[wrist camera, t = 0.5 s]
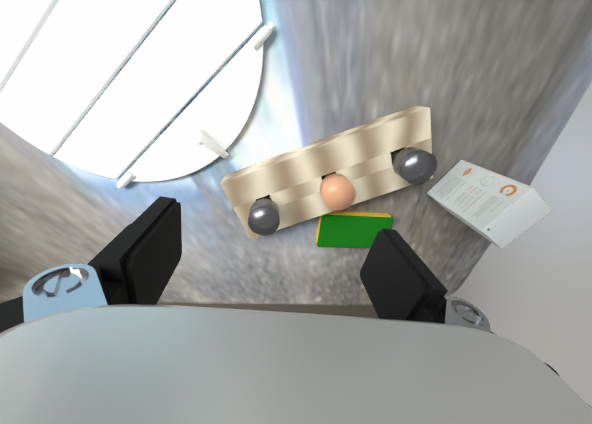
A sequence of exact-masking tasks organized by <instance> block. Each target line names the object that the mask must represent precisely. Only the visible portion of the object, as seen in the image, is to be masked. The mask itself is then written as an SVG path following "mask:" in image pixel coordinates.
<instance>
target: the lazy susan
mask: <svg viewBox="0 0 592 424" xmlns="http://www.w3.org/2000/svg"><path fill="white" fill-rule="evenodd" d="M174 1H175V0H0V122H2V123H3V124H4V125H5V126H7V127H8V128H9V129H11V130H12V131H13V132H15V133H16V134H17V135H19V136H20V137H22V138H23V139H25V140H26V141H28V142H29V143H31V144H32V145H34V146H35V147H37V148H39V149H40V150H42V151H44V152H46V153H47V154H49V155H51V154H54V153H55V152H56V151H57V150H58V148H59V147H60V146H61V144H62V143H63V142H64V141H65V139H66V138H67V137H68V136H69V134H70V133H71V132H72V130H73V129H74V128H75V127H76V125H77V124H78V123H79V122H80V120H81V119H82V118H83V116H84V115H85V114H86V113H87V111H88V110H89V109H90V108H91V106H92V105H93V104H94V103H95V101H96V100H97V99H98V97H99V96H100V95H101V94H102V92H103V91H104V90H105V89H106V87H107V86H108V85H109V83H110V82H111V81H112V80H113V78H114V77H115V76H116V75H117V73H118V72H119V71H120V69H121V68H122V67H123V66H124V64H125V63H126V62H127V61H128V59H129V58H130V57H131V55H132V54H133V53H134V52H135V50H136V49H137V48H138V47H139V45H140V44H141V43H142V41H143V40H144V39H145V38H146V36H147V35H148V34H149V33H150V31H151V30H152V29H153V27H154V26H155V25H156V24H157V22H158V21H159V20H160V19H161V17H162V16H163V15H164V14H165V12H166V11H167V10H168V8H169V7H170V6H171V5H172V3H173V2H174ZM261 24H262V15H261V8H260V1H259V0H176V2H175V3H174V4H173V6H172V7H171V8H170V9H169V11H168V12H167V13H166V14H165V16H164V17H163V18H162V19H161V21H160V22H159V23H158V25H157V26H156V27H155V28H154V30H153V31H152V32H151V33H150V35H149V36H148V37H147V39H146V40H145V41H144V42H143V44H142V45H141V46H140V47H139V49H138V50H137V51H136V52H135V54H134V55H133V56H132V58H131V59H130V60H129V61H128V63H127V64H126V65H125V66H124V68H123V69H122V70H121V71H120V73H119V74H118V75H117V77H116V78H115V79H114V80H113V82H112V83H111V84H110V85H109V87H108V88H107V89H106V91H105V92H104V93H103V94H102V96H101V97H100V98H99V99H98V101H97V102H96V103H95V104H94V106H93V107H92V108H91V110H90V111H89V112H88V113H87V115H86V116H85V117H84V118H83V120H82V121H81V122H80V123H79V125H78V126H77V127H76V129H75V130H74V131H73V132H72V134H71V135H70V136H69V137H68V139H67V140H66V141H65V143H64V144H63V145H62V146H61V148H60V149H59V150H58V151H57V153H56V154H55V155H54V156H53V157H55V158H57V159H59V160H61V161H63V162H65V163H67V164H69V165H72V166H74V167H77V168H79V169H82V170H84V171H87V172H90V173H93V174H97V175H100V176H104V177H108V178H113V179H116V178H118V177H119V176H120V175H121V174H122V173H123V172H124V171H125V170H126V169H127V168H128V167H129V166H130V164H131V163H132V162H133V161H134V160H135V159H136V158H137V157H138V156H139V155H140V154H141V153H142V152H143V150H144V149H145V148H146V147H147V146H148V145H149V144H150V143H151V142H152V141H153V140H154V139H155V138H156V136H157V135H158V134H159V133H160V132H161V131H162V130H163V129H164V128H165V127H166V126H167V125H168V124H169V122H170V121H171V120H172V119H173V118H174V117H175V116H176V115H177V114H178V113H179V112H180V111H181V110H182V109H183V107H184V106H185V105H186V104H187V103H188V102H189V101H190V100H191V99H192V98H193V97H194V96H195V95H196V93H197V92H198V91H199V90H200V89H201V88H202V87H203V86H204V85H205V84H206V83H207V82H208V81H209V79H210V78H211V77H212V76H213V75H214V74H215V73H216V72H217V71H218V70H219V69H220V68H221V67H222V65H223V64H224V63H225V62H226V61H227V60H228V59H229V58H230V57H231V56H232V55H233V54H234V53H235V52H236V50H237V49H238V48H239V47H240V46H241V45H242V44H243V43H244V42H245V41H246V40H247V39H248V38H249V36H250V35H251V34H252V33H253V32H254V31H255V30H256V29H257V28H258V27H259V26H260V25H261ZM274 29H275V26H274V24H273V23H272V22H270V23H269V24H268V25H265V26H264V27H262V28H261V29H260V30H259V31H258V32H257V33H256V34H255V35H254V36H253V37H252V38H251V39H250V40H249V41H248V43H247V44H246V45H245V46H244V47H243V48H242V49H241V50H240V51H239V52H238V53H237V54H236V55H235V56H234V58H233V59H232V60H231V61H230V62H229V63H228V64H227V65H226V66H225V67H224V68H223V69H222V70H221V71H220V73H219V74H218V75H217V76H216V77H215V78H214V79H213V80H212V81H211V82H210V83H209V84H208V85H207V86H206V87H205V89H204V90H203V91H202V92H201V93H200V94H199V95H198V96H197V97H196V98H195V99H194V100H193V101H192V102H191V104H190V105H189V106H188V107H187V108H186V109H185V110H184V111H183V112H182V113H181V114H180V115H179V116H178V117H177V119H176V120H175V121H174V122H173V123H172V124H171V125H170V126H169V127H168V128H167V129H166V130H165V131H164V132H163V133H162V135H161V136H160V137H159V138H158V139H157V140H156V141H155V142H154V143H153V144H152V145H151V146H150V147H149V148H148V150H147V151H146V152H145V153H144V154H143V155H142V156H141V157H140V158H139V159H138V160H137V161H136V162H135V163H134V165H133V166H132V167H131V168H130V169H129V170H128V171H127V172H126V173H125V174H124V175H123V176H122V177H121V178H120V179H119V182H118V185H117V188H119V189H122V188H123V187H125V186H126V185H127V184H128V183H129V182H130V181H136V182H154V181H164V180H170V179H174V178H178V177H182V176H185V175H188V174H190V173H193V172H195V171H197V170H199V169H201V168H203V167H205V166H206V165H208V164H210V163H211V162H212V161H214V160H215V159H216V158H218V157H219V156H221V157H223V158H227V157H228V156H229V154H228V153H227V152H226V151H225V150H226V149H227V148H228V147H229V146H230V145H231V144H232V143H233V142H234V140H235V139H236V138H237V136H238V135H239V133H240V132H241V130H242V129H243V127H244V125H245V124H246V122H247V120H248V118H249V116H250V113H251V111H252V109H253V106H254V103H255V100H256V97H257V93H258V90H259V85H260V80H261V74H262V66H263V49H264V43H263V42H264V41H265V40H266V39H267V38H268V37H269V36H270V35H271V32H272V31H273V30H274Z"/></svg>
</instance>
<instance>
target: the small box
mask: <svg viewBox="0 0 592 424" xmlns="http://www.w3.org/2000/svg"><path fill="white" fill-rule="evenodd" d="M427 194H428V195H429V196H430V197H431V198H433V199H434V200H435V201H436V202H437V203H438V204H440V205H441V206H442V207H443V208H444V209H445V210H447V211H448V212H449V213H451V214H452V215H454V216H455V217H456V218H458V219H459V220H461V221H462V222H463V223H465V224H466V225H468V226H469V227H471V228H472V229H473V230H475V231H476V232H478V233H479V234H481V235H482V236H483V237H485V238H486V239H488V240H489V241H490V242H492V243H493V244H495V245H497V246H498V247H499V248H501V249H503V248H504V247H505V246H506V245H508V244H509V243H510V242H512V241H513V240H514V239H516V238H517V237H518V236H520V235H521V234H522V233H524V232H525V231H526V230H528V229H529V228H530V227H532V226H533V225H534V224H535V223H537V222H538V221H539V220H541V219H542V218H544V217H545V216H546V215H547V214H549V213H550V212H552V210H551V208H550V207H549V206H548V205H547V203H546V202H545V201H544V199H543V198H542V197H541V196H540V194H539V193H538V192H537V190H536V189H535V188H534V187H532V186H529V185H526V184H524V183H521V182H518V181H516V180H513V179H510V178H508V177H505V176H503V175H500V174H498V173H495V172H492V171H490V170H487V169H485V168H482V167H480V166H477V165H474V164H472V163H469V162H467V161H464V160H460V161H459V162H458V163H457V164H456V165H455V166H454V167H453V168H452V169H451V170H450V171H449V172H448V173H447V174H446V175H445V176H444V177H443V178H442V179H441V180H440V181H439V182H438V183H437V184H436V185H435V186H434V187H433V188H432V189H430V190H429V191H428V192H427Z"/></svg>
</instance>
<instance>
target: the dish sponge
mask: <svg viewBox="0 0 592 424" xmlns="http://www.w3.org/2000/svg"><path fill="white" fill-rule="evenodd" d="M392 223H393V218H392V217H391V216H390V215H389V214H388V213H368V212H346V211H333V212H330V213H327V214H324V215H321V216H320V217H319V222H318V228H317V234H316V243H317V246H318V247H345V248H371V246H372V244H373V241H374V239H375V237H376V235H377V233H378V231H381V230H382V229H383V228H385V229H391V226H392Z"/></svg>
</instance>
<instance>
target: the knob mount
mask: <svg viewBox="0 0 592 424" xmlns="http://www.w3.org/2000/svg"><path fill="white" fill-rule="evenodd" d="M407 147H417V148H420V149H422V150H424V151H427V152H429V153H431V154H432V146H431V121H430V108H427V107H420V106H412V107H410V108H407V109H404V110H402V111H399V112H396V113H393V114H391V115H388V116H385V117H382V118H380V119H377V120H374V121H372V122H369V123H366V124H363V125H361V126H358V127H355V128H352V129H350V130H347V131H344V132H342V133H339V134H336V135H333V136H331V137H328V138H325V139H322V140H320V141H317V142H314V143H311V144H309V145H306V146H303V147H301V148H298V149H295V150H292V151H290V152H287V153H284V154H281V155H279V156H276V157H273V158H271V159H268V160H265V161H262V162H260V163H257V164H254V165H251V166H249V167H246V168H243V169H241V170H238V171H235V172H232V173H230V174H227V175H225V176H224V178H223V180H222V182H221V186H222V188H223V190H224V192H225V193H226V195H227V197H228V199H229V201H230V203H231V204H232V206H233V208H234V210H235V212H236V213H237V215H238V217H239V219H240V221H241V222H242V224H243V226H244V228H245V230H246V232H247V233H248V235H249V237H250V239H253V238H256V237H259V236H262V235H258V234H256V233H254V232H253V231H252V230H251V229H250V228H249V226H248V217H249V212H250V207H251V205H252V204H253V203H254V202H255V201H257V200H259V199H261V198H262V197H265V196H267V195H270V200H272V201H273V202H275V203H276V204H277V206H278V208H279V218H280V224H279V227H278V229H277V230H279V229H282V228H285V227H288V226H291V225H294V224H297V223H300V222H303V221H306V220H309V219H312V218H315V217H318V216H321V215H324V214H327V213H330V212H333V211H335V210H331V209H329V208H328V207H327V206H326V205H325V203H324V200H323V198H322V196H321V193H320V184H321V182H322V178H321V176H324V175H327V174H330V173H333V174H335V173H338V174H342V175H344V176H345V177H346V178H347V179H348V180H349V182H350V183H351V184H352V186H353V187H354V189H355V192H356V196H355V200H354V202H353V203H352V204H351V205H353V204H356V203H359V202H362V201H365V200H368V199H371V198H374V197H377V196H380V195H383V194H386V193H389V192H392V191H395V190H398V189H401V188H404V187H407V186H410V185H413V184H410V183H408V182H407V181H405V180H404V179H403V178H401V177H400V176H399V175H397V174H396V173H395V171H394V168H393V163H394V160H393V159H392V158H391V153H390V152H392V151H395V150H399V151H402V150H403V149H405V148H407ZM431 178H433V175H432V176H431ZM431 178H430V179H431ZM351 205H350V206H351Z"/></svg>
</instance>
